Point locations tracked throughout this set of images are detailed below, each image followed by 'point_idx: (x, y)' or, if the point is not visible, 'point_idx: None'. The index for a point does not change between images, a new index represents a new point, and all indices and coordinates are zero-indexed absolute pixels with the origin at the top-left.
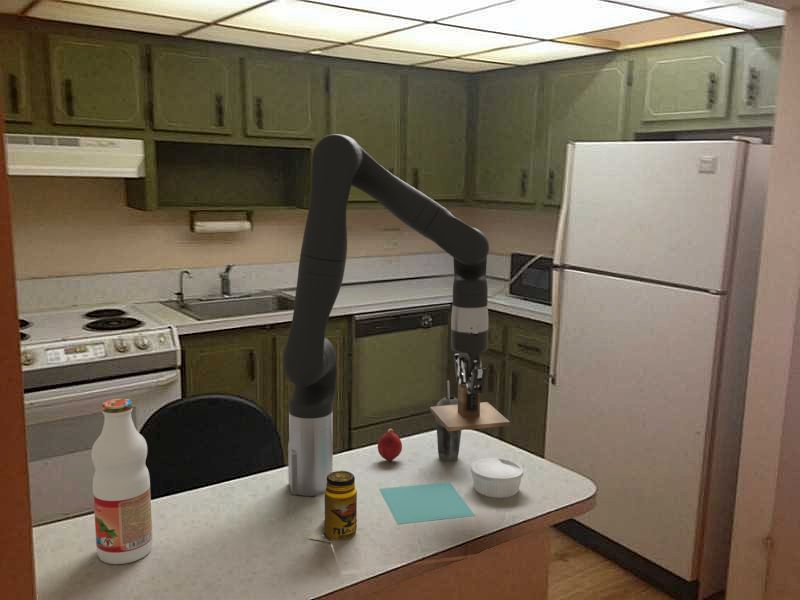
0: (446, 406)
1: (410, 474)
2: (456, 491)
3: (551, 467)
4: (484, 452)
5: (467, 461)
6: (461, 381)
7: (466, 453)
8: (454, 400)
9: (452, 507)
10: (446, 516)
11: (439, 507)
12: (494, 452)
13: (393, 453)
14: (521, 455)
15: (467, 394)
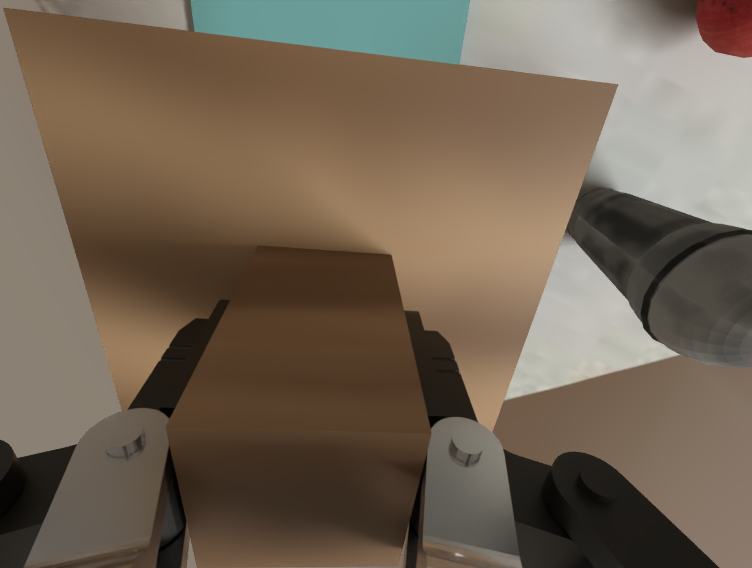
0: (542, 225)
1: (567, 42)
2: None
3: None
4: (578, 322)
5: (554, 262)
6: (425, 506)
7: (600, 280)
8: (740, 346)
9: None
10: (210, 31)
11: (278, 34)
12: (564, 343)
13: None
14: (515, 386)
15: (171, 407)
